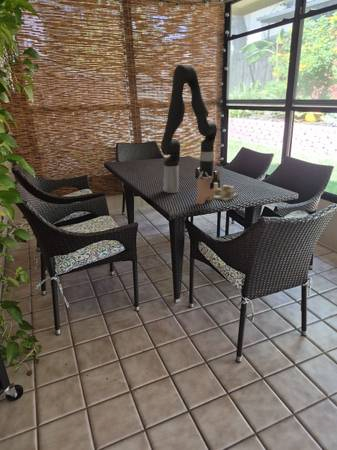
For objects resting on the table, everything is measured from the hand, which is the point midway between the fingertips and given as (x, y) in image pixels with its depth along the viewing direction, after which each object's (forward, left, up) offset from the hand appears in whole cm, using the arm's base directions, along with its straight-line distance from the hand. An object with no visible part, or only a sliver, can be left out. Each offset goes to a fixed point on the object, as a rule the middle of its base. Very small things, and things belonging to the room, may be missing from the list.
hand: (205, 187), depth 180 cm
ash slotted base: (0, +15, -9) cm, 17 cm away
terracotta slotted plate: (0, 0, -9) cm, 9 cm away
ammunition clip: (-13, +26, -9) cm, 30 cm away
